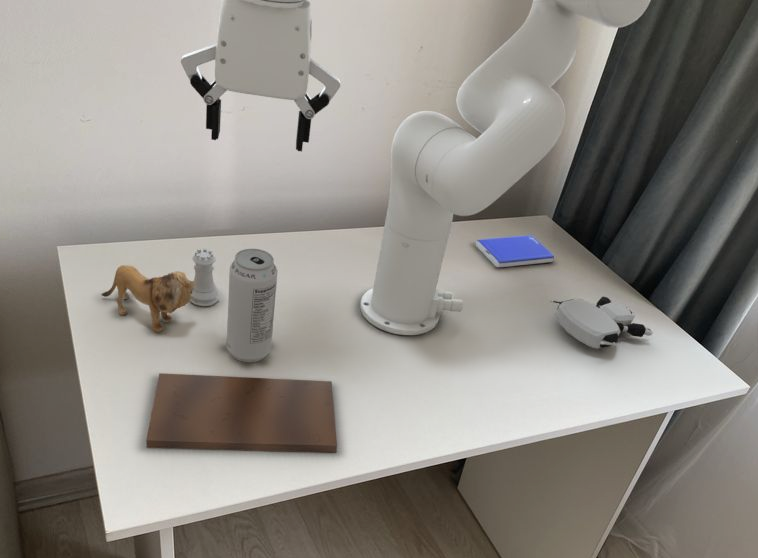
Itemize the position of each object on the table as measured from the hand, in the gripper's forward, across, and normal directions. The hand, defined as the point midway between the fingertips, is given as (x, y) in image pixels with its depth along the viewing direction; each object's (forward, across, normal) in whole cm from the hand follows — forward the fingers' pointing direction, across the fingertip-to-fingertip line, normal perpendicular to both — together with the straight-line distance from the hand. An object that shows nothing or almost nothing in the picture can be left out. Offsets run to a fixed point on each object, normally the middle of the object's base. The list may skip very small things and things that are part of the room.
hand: (257, 141), depth 86 cm
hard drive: (+29, -48, -33) cm, 65 cm away
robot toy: (+29, -56, -9) cm, 64 cm away
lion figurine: (+30, +13, -4) cm, 33 cm away
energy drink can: (+30, -1, +2) cm, 30 cm away
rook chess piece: (+30, +7, -10) cm, 32 cm away
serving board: (+30, -1, +15) cm, 33 cm away
